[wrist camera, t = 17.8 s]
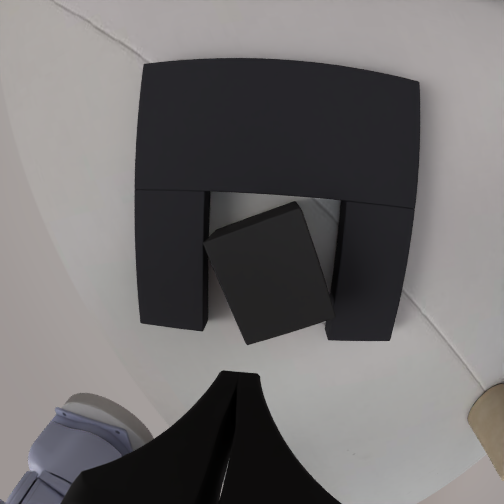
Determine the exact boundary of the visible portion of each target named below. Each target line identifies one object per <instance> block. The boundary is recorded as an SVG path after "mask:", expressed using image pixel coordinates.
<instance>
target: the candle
mask: <svg viewBox="0 0 504 504" xmlns="http://www.w3.org/2000/svg"><path fill="white" fill-rule="evenodd" d="M468 422H469V425H470V426H471V428H472V430H473V431H474V433H475V435H476V436H477V438H478V440H479V441H480V443H481V445H482V446H483V448H484V450H485V451H486V453H487V455H488V456H489V458H490V460H491V462H492V464H493V465H494V467H495V469H496V471H497V472H498V474H499V476H500V478H501V480H502V481H504V384H498V385H496V386H494V387H492V388H490V389H489V390H488V391H486V392H485V393H484V394H483V395H482V396H481V397H480V398H479V399H478V400H477V401H476V403H475V404H474V405H473V407H472V408H471V410H470V412H469V415H468Z"/></svg>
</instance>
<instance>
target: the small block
mask: <svg viewBox="0 0 504 504" xmlns="http://www.w3.org/2000/svg"><path fill="white" fill-rule="evenodd" d="M203 245H204V247H205V250H206V252H207V254H208V257H209V259H210V262H211V264H212V266H213V269H214V271H215V274H216V276H217V278H218V281H219V283H220V285H221V288H222V290H223V292H224V295H225V297H226V299H227V302H228V304H229V306H230V309H231V311H232V313H233V316H234V318H235V320H236V322H237V325H238V327H239V329H240V331H241V334H242V336H243V338H244V340H245V343H246V344H247V345H249V344H253V343H256V342H260V341H263V340H267V339H270V338H273V337H277V336H280V335H283V334H287V333H290V332H293V331H296V330H299V329H303V328H306V327H309V326H312V325H315V324H318V323H321V322H324V321H327V320H330V319H333V318H335V317H336V315H335V311H334V308H333V305H332V301H331V298H330V295H329V292H328V288H327V285H326V282H325V279H324V276H323V272H322V269H321V266H320V263H319V260H318V257H317V254H316V251H315V248H314V245H313V242H312V239H311V236H310V233H309V230H308V227H307V224H306V221H305V218H304V215H303V212H302V210H301V208H300V207H299V205H298V204H297V203H296V202H292V203H289V204H286V205H283V206H280V207H278V208H275V209H272V210H269V211H266V212H264V213H261V214H258V215H255V216H253V217H250V218H247V219H244V220H242V221H239V222H236V223H233V224H231V225H228V226H225V227H223V228H220V229H217V230H216V231H215V232H214V233H213V234H212V235H211V236H210V237H209V238H208V239H207V240H206V241H205V242H204V243H203Z"/></svg>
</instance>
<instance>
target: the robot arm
mask: <svg viewBox="0 0 504 504" xmlns="http://www.w3.org/2000/svg"><path fill="white" fill-rule="evenodd" d="M55 412H56V415H55V417H54V418H53V419H52V420H51V421H50V423H49V424H48V425H47V427H46V428H45V429H44V430H43V431H42V433H41V434H40V436H39V437H38V438H37V439H36V440H35V442H34V443H33V445H32V446H31V449H30V451H29V456H28V465H29V469H30V471H27V472H26V473H25V474H24V476H23V477H22V478H21V480H20V481H19V483H18V484H17V485H16V487H15V488H14V490H13V491H12V493H11V494H10V496H9V497H8V499H7V501H6V502H4V501H2V500H1V499H0V504H341V503H340V502H339V501H337V500H336V499H335V498H334V497H333V496H332V495H330V494H329V493H328V492H327V491H326V490H325V489H324V488H323V487H322V486H321V485H320V484H319V483H318V482H317V481H316V480H315V479H314V478H313V477H312V476H311V475H310V474H309V473H308V471H307V470H306V469H305V468H304V467H303V466H302V465H301V463H300V462H299V461H298V460H297V458H296V457H295V455H294V454H293V453H292V451H291V450H290V448H289V447H288V445H287V444H286V442H285V441H284V439H283V437H282V436H281V434H280V432H279V430H278V428H277V426H276V424H275V422H274V420H273V418H272V416H271V414H270V411H269V409H268V406H267V404H266V401H265V398H264V395H263V391H262V387H261V382H260V376H259V375H258V374H257V373H245V372H233V371H221V372H220V373H219V375H218V376H217V378H216V379H215V381H214V382H213V383H212V385H211V386H210V387H209V389H208V390H207V391H206V392H205V393H204V395H203V396H202V397H201V398H200V399H199V400H198V401H197V403H196V404H195V405H194V406H193V407H192V408H191V409H190V410H189V411H188V412H187V413H186V414H185V415H184V416H183V417H181V418H180V419H179V420H178V421H177V422H176V423H175V424H174V425H172V426H171V427H170V428H169V429H167V430H166V431H165V432H163V433H162V434H161V435H159V436H158V437H156V438H155V439H153V440H152V441H150V442H149V443H147V444H145V445H144V446H142V447H140V448H138V449H137V450H135V451H133V449H132V446H131V443H130V440H129V436H128V433H127V431H126V430H125V429H123V428H120V427H116V426H113V425H109V424H106V423H103V422H99V421H96V420H93V419H90V418H87V417H84V416H81V415H78V414H75V413H73V412H70V411H67V410H64V409H62V408H59V407H56V408H55ZM228 461H229V463H228ZM227 465H228V468H227ZM226 469H227V472H226ZM225 472H226V476H225ZM224 476H225V481H224V485H223V489H222V493H221V488H222V484H223V480H224ZM220 493H221V497H220ZM219 499H220V500H219Z"/></svg>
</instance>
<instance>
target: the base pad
mask: <svg viewBox="0 0 504 504" xmlns="http://www.w3.org/2000/svg"><path fill="white" fill-rule="evenodd" d="M419 150H420V85H419V82H418V81H414V80H410V79H406V78H402V77H398V76H393V75H389V74H384V73H379V72H374V71H369V70H364V69H358V68H352V67H346V66H339V65H332V64H324V63H315V62H305V61H294V60H280V59H257V58H215V59H193V60H178V61H167V62H157V63H149V64H144V66H143V74H142V82H141V91H140V101H139V112H138V124H137V139H136V159H135V250H136V271H137V287H138V300H139V312H140V322H141V323H143V324H150V325H157V326H164V327H171V328H179V329H187V330H196V331H203V330H204V328H205V326H206V324H207V321H208V254H207V252H206V250H205V247H204V245H203V243H204V242H205V241H206V240H207V239H208V238H209V211H210V191H218V192H239V193H257V194H272V195H287V196H300V197H312V198H324V199H334V200H341V208H340V219H339V229H338V238H337V247H336V255H335V263H334V271H333V279H332V286H331V293H330V298H331V301H332V305H333V308H334V311H335V315H336V317H335V318H333V319H330V320H327V321H326V325H325V331H326V334H327V338H328V340H340V341H390V338H391V334H392V331H393V327H394V323H395V318H396V314H397V310H398V306H399V301H400V297H401V292H402V287H403V282H404V277H405V271H406V266H407V260H408V254H409V248H410V241H411V235H412V227H413V220H414V211H415V210H414V209H415V204H416V194H417V183H418V169H419Z"/></svg>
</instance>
